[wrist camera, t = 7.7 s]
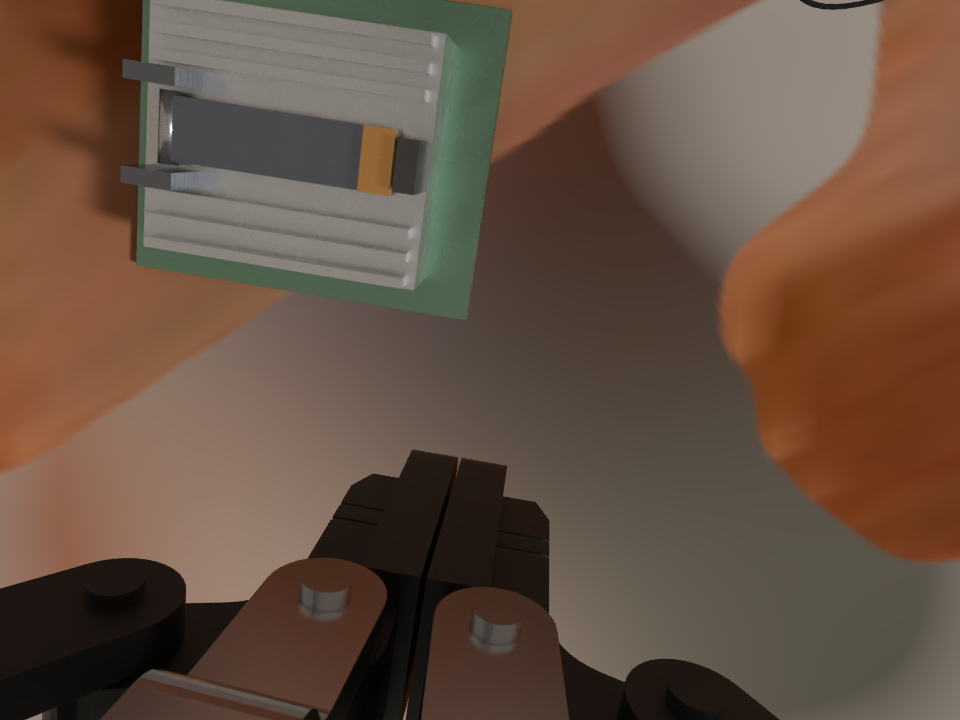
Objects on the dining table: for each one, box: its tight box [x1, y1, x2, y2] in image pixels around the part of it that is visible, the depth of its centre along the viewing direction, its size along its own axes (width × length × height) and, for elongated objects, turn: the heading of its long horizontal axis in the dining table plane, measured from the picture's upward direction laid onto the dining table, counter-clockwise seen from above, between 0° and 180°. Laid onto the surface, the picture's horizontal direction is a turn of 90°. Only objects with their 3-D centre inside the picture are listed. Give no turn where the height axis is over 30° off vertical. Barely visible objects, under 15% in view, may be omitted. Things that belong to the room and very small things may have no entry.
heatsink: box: [120, 0, 512, 320], centre depth 38 cm, size 16×19×7 cm
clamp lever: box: [157, 88, 401, 196], centre depth 36 cm, size 12×3×2 cm, turn 81°
